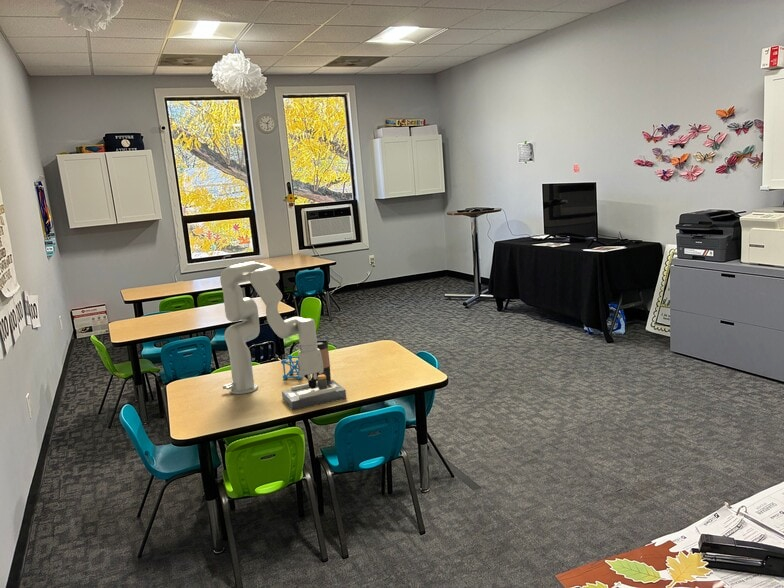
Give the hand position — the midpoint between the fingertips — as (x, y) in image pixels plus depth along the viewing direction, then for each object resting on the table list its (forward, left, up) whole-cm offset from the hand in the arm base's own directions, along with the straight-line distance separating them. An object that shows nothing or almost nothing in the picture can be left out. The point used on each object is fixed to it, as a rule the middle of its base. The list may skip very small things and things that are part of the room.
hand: (312, 387), depth 257 cm
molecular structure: (+2, +36, -5) cm, 36 cm away
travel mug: (+10, +17, -5) cm, 21 cm away
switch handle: (+4, 0, -1) cm, 4 cm away
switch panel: (0, 0, -5) cm, 5 cm away
